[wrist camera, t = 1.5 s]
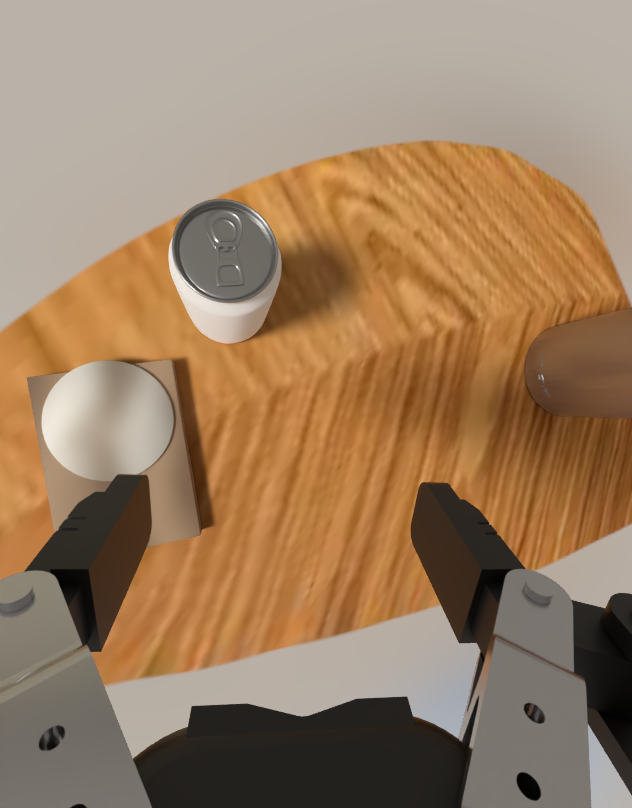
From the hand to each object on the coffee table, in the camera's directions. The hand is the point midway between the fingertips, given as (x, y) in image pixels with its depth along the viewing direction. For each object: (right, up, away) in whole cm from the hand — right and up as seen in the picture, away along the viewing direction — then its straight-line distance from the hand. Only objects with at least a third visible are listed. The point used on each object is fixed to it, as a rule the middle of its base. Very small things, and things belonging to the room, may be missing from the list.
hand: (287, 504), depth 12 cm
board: (-14, -1, +19) cm, 24 cm away
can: (-7, +11, +21) cm, 25 cm away
